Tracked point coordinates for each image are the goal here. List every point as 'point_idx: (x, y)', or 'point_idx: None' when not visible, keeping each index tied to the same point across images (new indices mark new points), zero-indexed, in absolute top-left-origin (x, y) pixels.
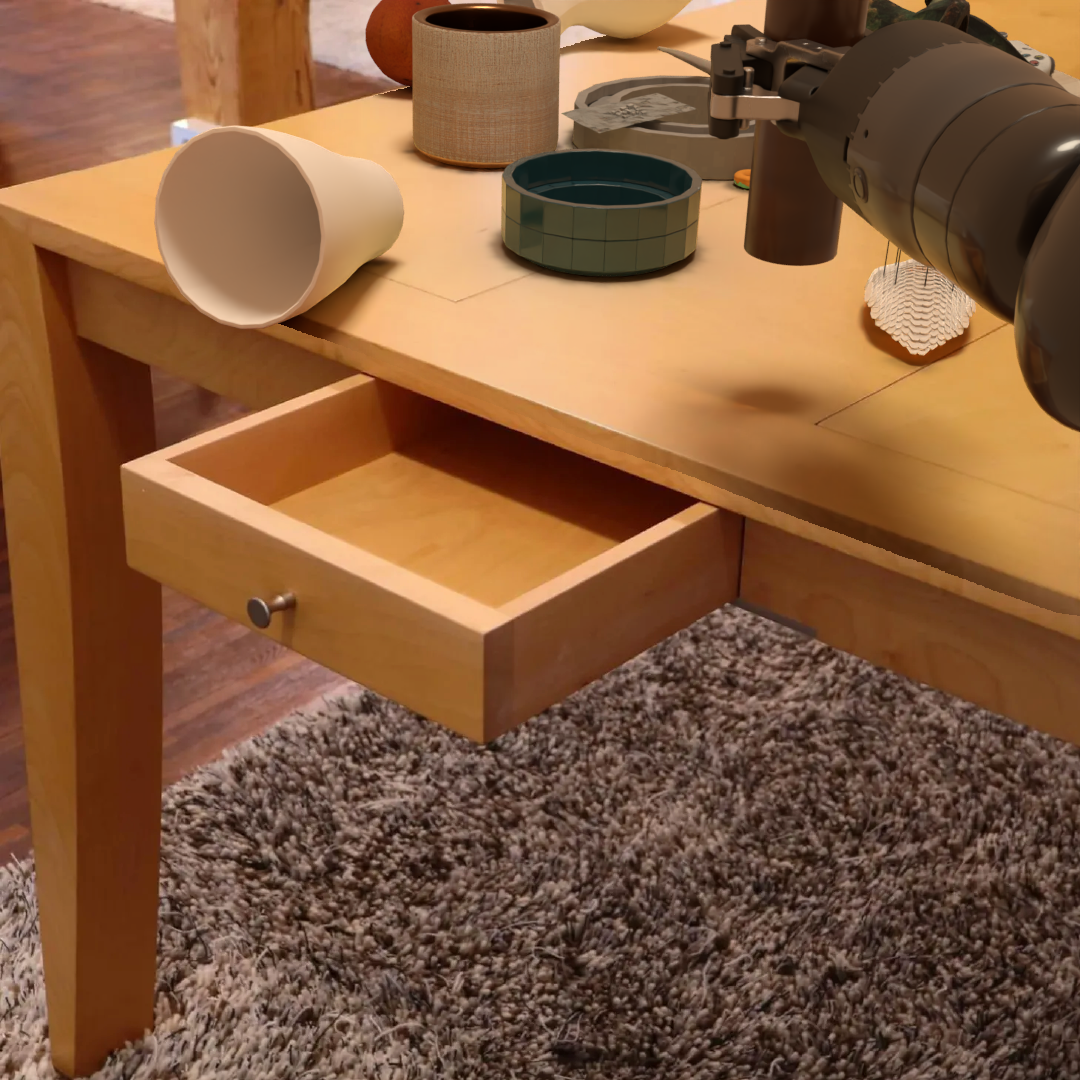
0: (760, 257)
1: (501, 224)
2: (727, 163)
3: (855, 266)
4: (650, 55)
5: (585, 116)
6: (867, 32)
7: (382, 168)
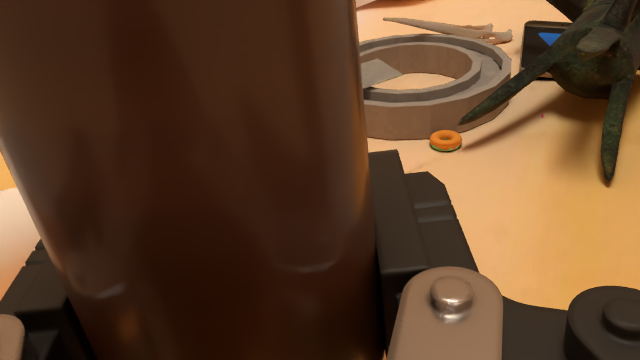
0: None
1: None
2: (424, 126)
3: (528, 281)
4: (410, 8)
5: None
6: (398, 226)
7: None
